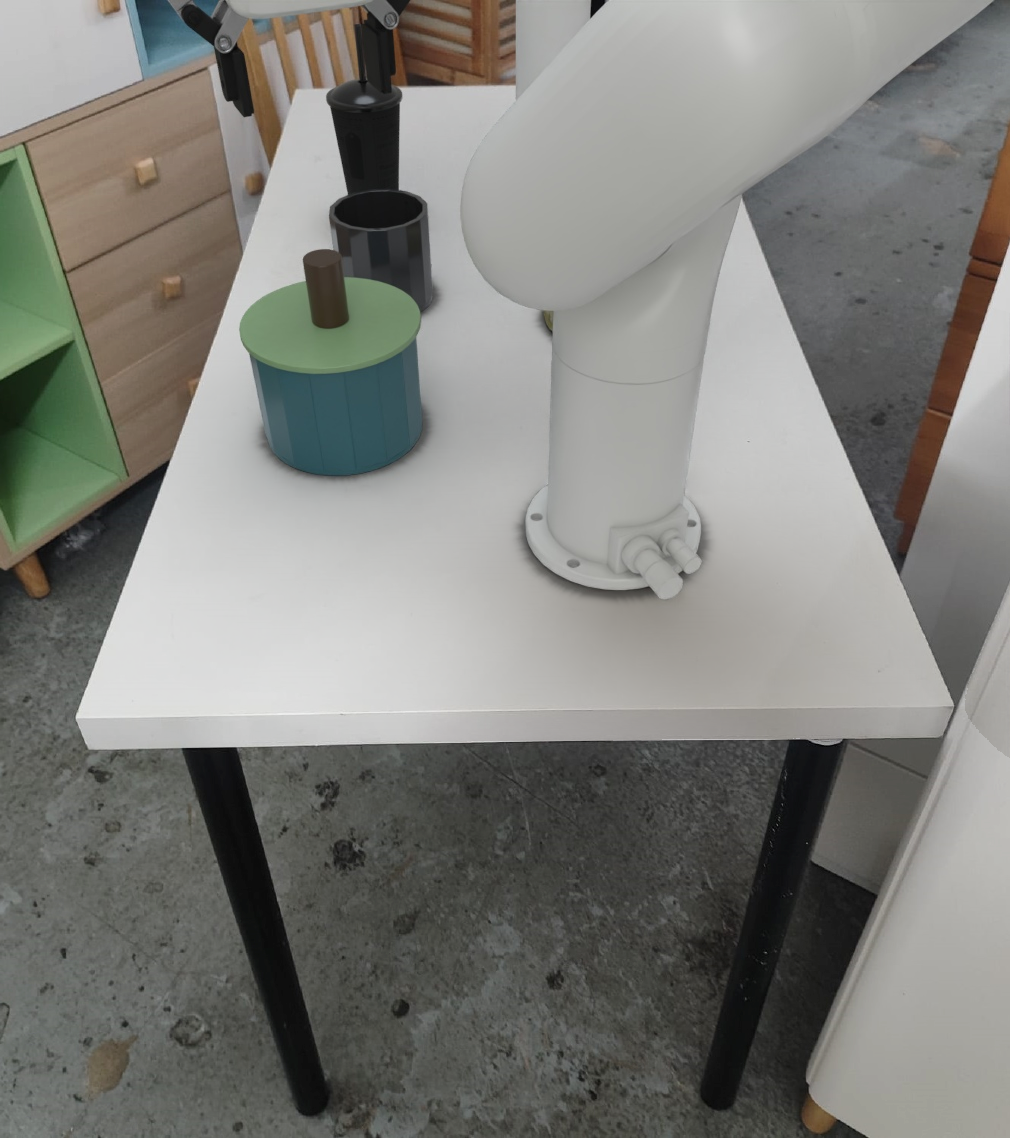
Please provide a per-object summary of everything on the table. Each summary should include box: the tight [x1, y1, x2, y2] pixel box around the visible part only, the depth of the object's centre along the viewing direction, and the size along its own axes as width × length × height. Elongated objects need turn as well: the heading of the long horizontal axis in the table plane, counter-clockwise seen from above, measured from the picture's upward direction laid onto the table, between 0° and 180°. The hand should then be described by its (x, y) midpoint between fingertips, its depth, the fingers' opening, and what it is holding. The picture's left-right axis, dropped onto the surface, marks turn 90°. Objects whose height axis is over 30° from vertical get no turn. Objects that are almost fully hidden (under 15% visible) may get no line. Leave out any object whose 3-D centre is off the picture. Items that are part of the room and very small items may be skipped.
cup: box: [328, 189, 434, 313], centre depth 97 cm, size 9×9×9 cm
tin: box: [248, 337, 423, 477], centre depth 81 cm, size 13×13×10 cm
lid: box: [238, 248, 422, 374], centre depth 76 cm, size 14×14×6 cm
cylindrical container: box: [515, 0, 592, 101], centre depth 104 cm, size 7×7×25 cm
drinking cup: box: [325, 23, 403, 195], centre depth 105 cm, size 8×8×20 cm
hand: (313, 98), depth 70 cm, fingers open, 9 cm apart
